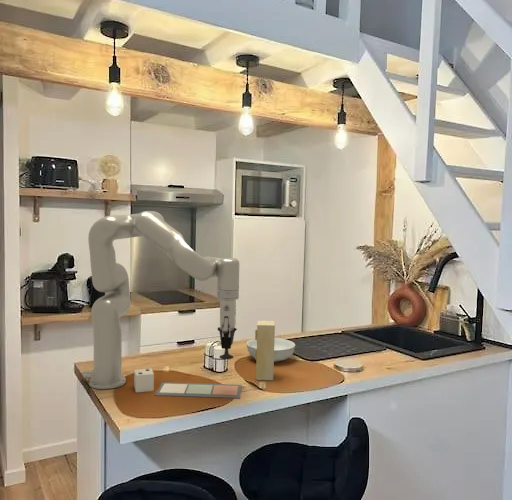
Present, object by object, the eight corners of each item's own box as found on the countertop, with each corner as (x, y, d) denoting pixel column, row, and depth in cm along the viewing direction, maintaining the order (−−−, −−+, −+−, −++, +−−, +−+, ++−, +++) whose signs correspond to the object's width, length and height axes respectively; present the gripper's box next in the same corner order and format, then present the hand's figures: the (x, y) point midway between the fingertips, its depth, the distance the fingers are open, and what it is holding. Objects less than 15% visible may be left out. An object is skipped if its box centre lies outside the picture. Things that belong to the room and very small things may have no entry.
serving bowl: (304, 359, 207) (305, 343, 207) (272, 370, 192) (272, 353, 191) (268, 349, 221) (269, 334, 221) (235, 358, 206) (236, 342, 206)
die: (135, 392, 164) (136, 375, 164) (134, 386, 170) (134, 369, 169) (153, 390, 166) (153, 373, 166) (151, 384, 172) (151, 368, 171)
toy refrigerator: (254, 373, 188) (256, 320, 186) (273, 373, 188) (275, 320, 186) (253, 380, 180) (255, 324, 178) (273, 380, 180) (275, 325, 178)
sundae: (233, 360, 163) (234, 317, 162) (214, 359, 164) (215, 315, 163) (238, 355, 170) (239, 313, 168) (219, 353, 171) (220, 312, 170)
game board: (154, 395, 162) (154, 394, 162) (162, 382, 174) (162, 381, 174) (239, 398, 162) (239, 397, 162) (241, 385, 174) (241, 384, 174)
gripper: (237, 298, 157) (236, 353, 158) (239, 290, 174) (238, 339, 175) (214, 298, 157) (213, 353, 158) (219, 289, 174) (218, 339, 175)
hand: (226, 345), depth 167 cm, fingers closed on sundae, 4 cm apart
